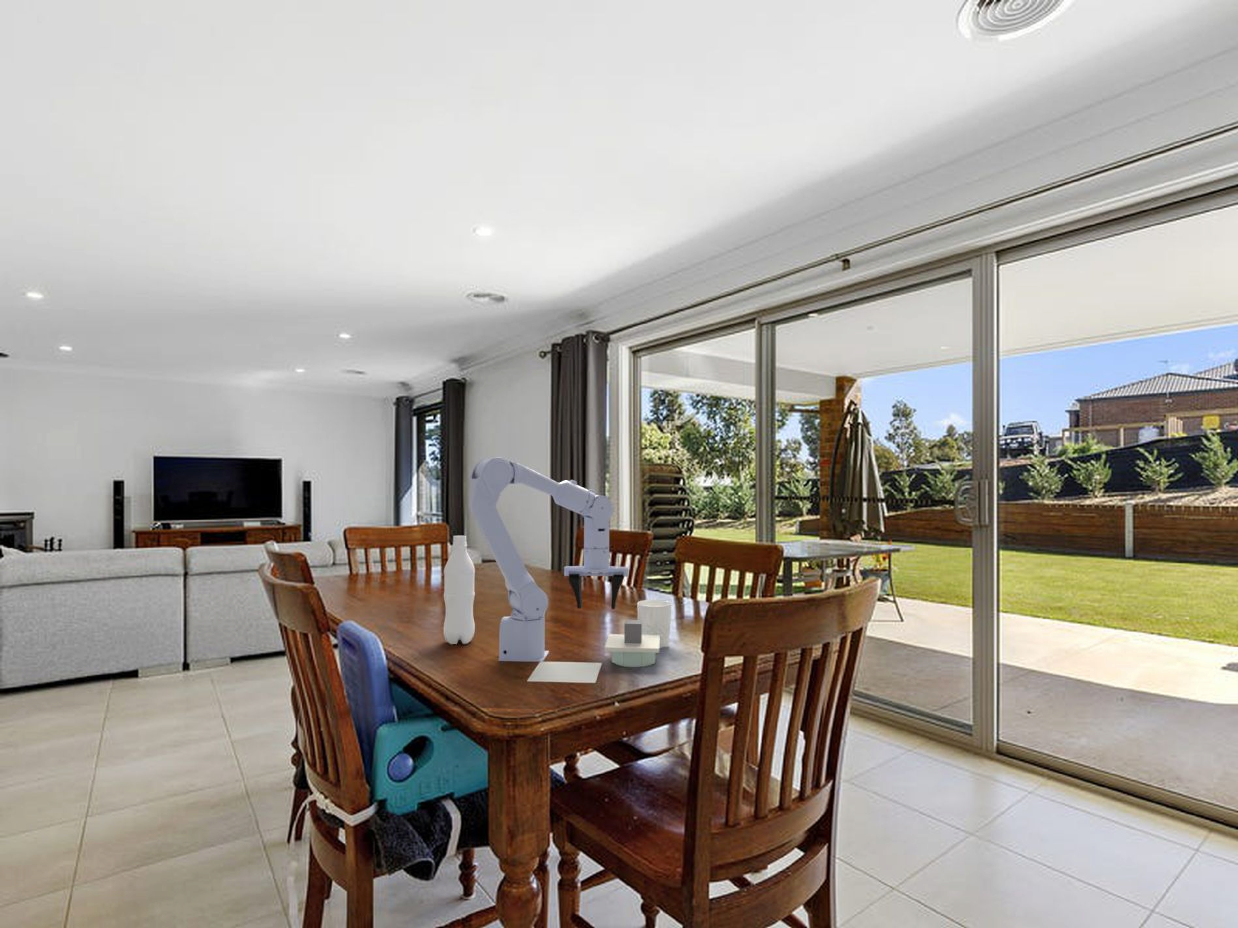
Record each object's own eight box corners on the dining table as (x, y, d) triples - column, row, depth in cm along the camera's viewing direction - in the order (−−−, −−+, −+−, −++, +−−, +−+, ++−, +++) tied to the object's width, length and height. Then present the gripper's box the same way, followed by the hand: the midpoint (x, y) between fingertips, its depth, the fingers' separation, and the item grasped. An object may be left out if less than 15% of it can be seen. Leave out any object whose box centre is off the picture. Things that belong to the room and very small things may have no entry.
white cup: (669, 651, 145) (669, 606, 146) (634, 649, 147) (634, 605, 147) (673, 642, 153) (673, 600, 153) (640, 641, 155) (640, 599, 155)
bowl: (610, 669, 132) (610, 649, 132) (614, 657, 141) (614, 638, 141) (654, 670, 132) (654, 650, 132) (655, 658, 141) (655, 639, 141)
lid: (604, 651, 131) (604, 627, 131) (609, 637, 142) (609, 615, 142) (659, 652, 131) (659, 628, 131) (659, 638, 142) (659, 616, 142)
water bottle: (470, 646, 150) (471, 537, 150) (439, 646, 150) (440, 537, 150) (477, 638, 157) (478, 534, 157) (448, 638, 157) (448, 534, 158)
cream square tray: (526, 683, 123) (526, 680, 123) (540, 663, 136) (540, 661, 136) (595, 685, 122) (595, 682, 122) (602, 665, 135) (602, 662, 135)
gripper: (562, 549, 144) (561, 610, 144) (627, 550, 143) (627, 612, 143) (566, 545, 151) (566, 604, 151) (629, 546, 150) (629, 605, 150)
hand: (596, 607), depth 147 cm, fingers open, 7 cm apart
